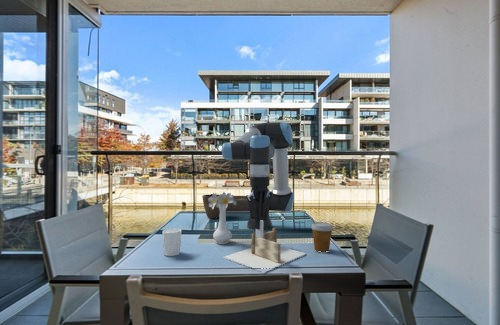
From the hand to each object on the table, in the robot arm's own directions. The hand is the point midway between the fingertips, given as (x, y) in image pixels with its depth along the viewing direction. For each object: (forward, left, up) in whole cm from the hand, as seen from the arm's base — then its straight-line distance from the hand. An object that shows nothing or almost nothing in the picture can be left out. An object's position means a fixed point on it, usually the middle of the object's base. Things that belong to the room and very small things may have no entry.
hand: (259, 236), depth 105 cm
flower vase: (-10, -34, -11) cm, 37 cm away
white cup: (+16, -36, -11) cm, 41 cm away
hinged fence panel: (-7, -2, -10) cm, 12 cm away
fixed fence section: (-15, -10, -10) cm, 21 cm away
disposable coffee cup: (-34, +8, -11) cm, 36 cm away
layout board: (-10, -5, -11) cm, 15 cm away
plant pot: (-45, -84, -11) cm, 96 cm away
